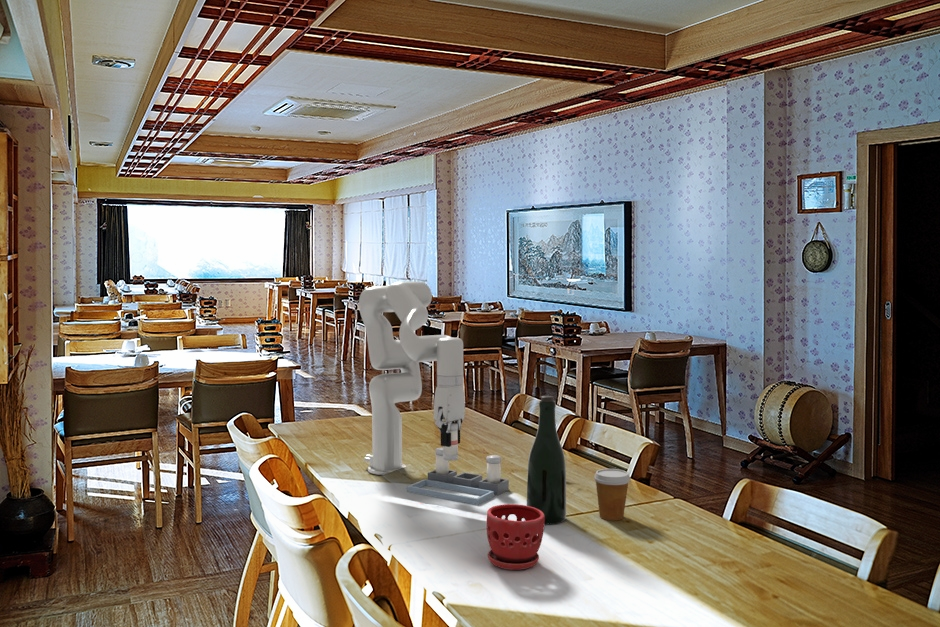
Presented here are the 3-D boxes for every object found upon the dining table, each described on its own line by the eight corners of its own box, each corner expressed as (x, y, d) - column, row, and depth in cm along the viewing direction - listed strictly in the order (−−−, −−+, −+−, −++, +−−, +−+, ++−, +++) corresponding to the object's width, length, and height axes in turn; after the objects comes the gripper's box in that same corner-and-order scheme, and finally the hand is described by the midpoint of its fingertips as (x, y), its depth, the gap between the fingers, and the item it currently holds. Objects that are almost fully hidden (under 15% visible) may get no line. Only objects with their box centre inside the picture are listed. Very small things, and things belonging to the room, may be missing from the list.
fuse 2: (483, 491, 237) (483, 457, 236) (491, 487, 240) (491, 454, 240) (496, 493, 235) (496, 459, 234) (503, 490, 238) (503, 456, 238)
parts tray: (406, 496, 237) (406, 486, 237) (424, 489, 244) (424, 479, 244) (477, 509, 224) (477, 499, 224) (494, 501, 232) (494, 491, 232)
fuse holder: (425, 488, 245) (425, 473, 245) (440, 481, 252) (440, 467, 252) (496, 501, 233) (496, 485, 232) (510, 494, 239) (510, 479, 239)
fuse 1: (432, 482, 246) (432, 449, 246) (440, 479, 250) (440, 446, 249) (444, 484, 244) (444, 451, 243) (451, 481, 248) (451, 448, 247)
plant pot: (501, 578, 177) (502, 523, 176) (477, 557, 189) (477, 506, 188) (554, 569, 182) (555, 516, 181) (527, 549, 194) (527, 500, 193)
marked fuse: (440, 459, 233) (440, 424, 232) (448, 456, 236) (448, 422, 236) (452, 461, 230) (452, 426, 230) (460, 458, 234) (460, 423, 233)
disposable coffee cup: (608, 524, 212) (608, 479, 211) (586, 514, 221) (587, 470, 220) (637, 519, 216) (637, 474, 216) (614, 509, 225) (615, 466, 224)
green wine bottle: (519, 515, 219) (520, 394, 217) (553, 511, 223) (555, 391, 221) (538, 527, 210) (539, 400, 207) (573, 522, 214) (574, 397, 212)
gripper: (455, 376, 241) (455, 437, 242) (422, 383, 227) (422, 448, 228) (476, 378, 237) (476, 440, 238) (445, 385, 223) (445, 451, 224)
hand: (450, 443), depth 233 cm, fingers closed on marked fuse, 4 cm apart
